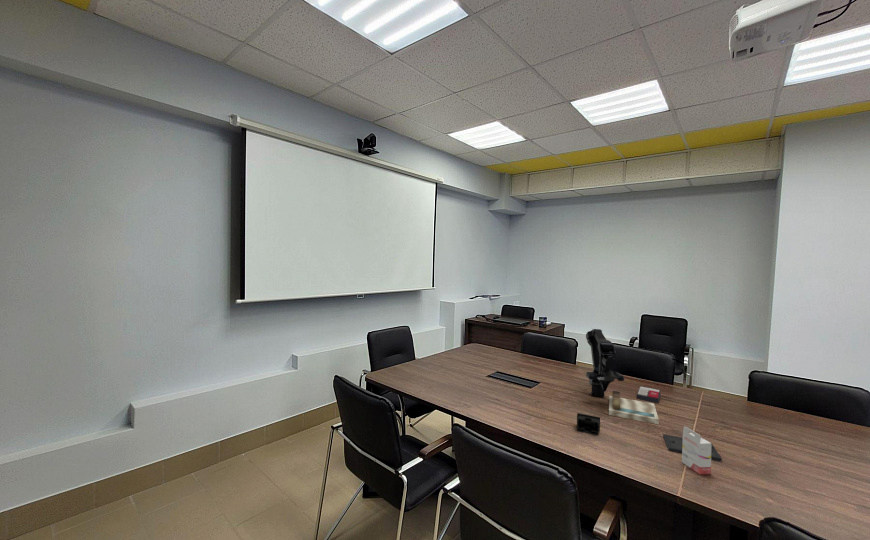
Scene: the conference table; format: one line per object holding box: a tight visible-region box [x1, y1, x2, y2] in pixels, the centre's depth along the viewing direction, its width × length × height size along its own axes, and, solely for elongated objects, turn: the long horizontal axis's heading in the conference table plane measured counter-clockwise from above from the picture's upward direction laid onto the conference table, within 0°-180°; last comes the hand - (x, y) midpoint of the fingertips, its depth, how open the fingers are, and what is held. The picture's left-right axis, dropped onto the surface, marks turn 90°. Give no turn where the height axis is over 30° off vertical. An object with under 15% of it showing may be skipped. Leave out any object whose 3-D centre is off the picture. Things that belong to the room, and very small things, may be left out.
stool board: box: [608, 395, 660, 425], centre depth 184 cm, size 22×23×3 cm
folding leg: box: [611, 390, 621, 410], centre depth 188 cm, size 19×4×5 cm, turn 152°
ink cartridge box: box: [681, 425, 713, 475], centre depth 132 cm, size 9×5×15 cm, turn 5°
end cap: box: [576, 412, 601, 436], centre depth 162 cm, size 10×7×7 cm
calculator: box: [636, 386, 661, 404], centre depth 205 cm, size 11×4×15 cm
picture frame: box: [662, 433, 723, 463], centre depth 147 cm, size 13×2×18 cm
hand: (604, 391), depth 193 cm, fingers closed
